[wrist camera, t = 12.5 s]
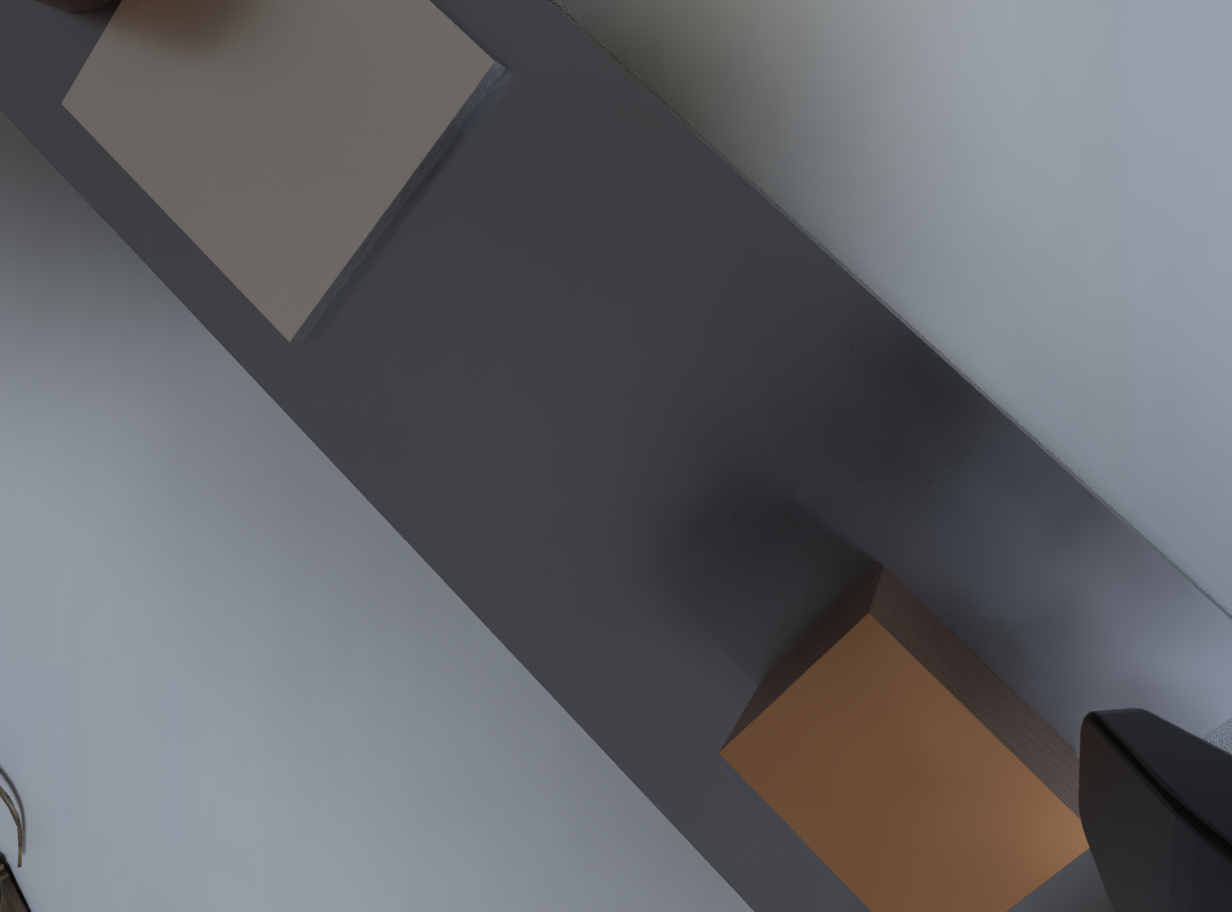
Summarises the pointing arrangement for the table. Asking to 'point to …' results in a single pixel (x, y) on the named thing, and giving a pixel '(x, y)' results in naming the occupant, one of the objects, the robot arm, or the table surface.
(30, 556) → the table surface
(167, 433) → the table surface
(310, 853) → the table surface
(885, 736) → the plane body
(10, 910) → the bar clamp
